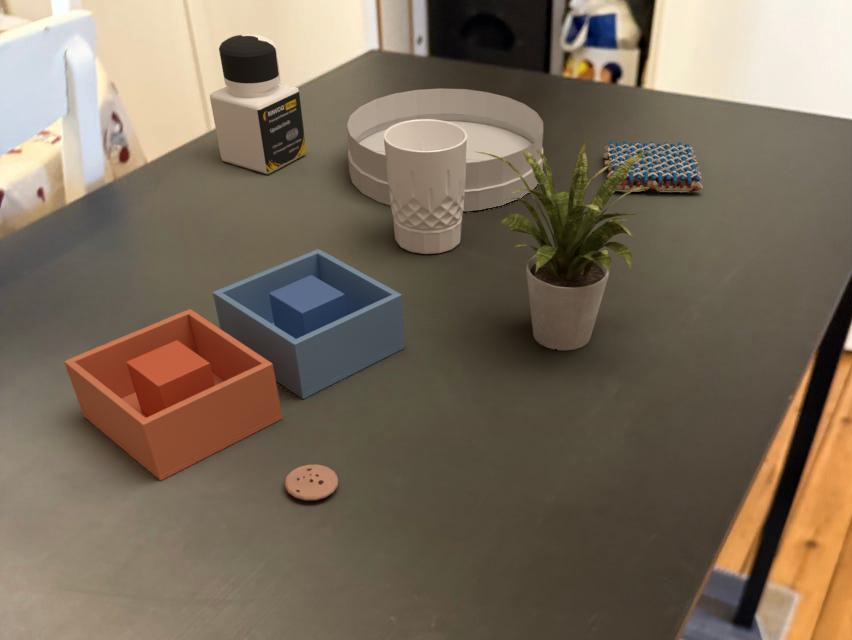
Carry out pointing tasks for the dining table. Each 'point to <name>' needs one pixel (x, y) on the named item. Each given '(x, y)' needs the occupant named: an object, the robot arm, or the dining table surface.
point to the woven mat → (656, 166)
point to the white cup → (426, 183)
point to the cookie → (311, 482)
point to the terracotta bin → (187, 420)
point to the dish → (498, 137)
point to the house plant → (569, 251)
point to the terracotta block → (168, 376)
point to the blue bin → (325, 347)
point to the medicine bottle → (256, 107)
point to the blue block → (306, 306)
